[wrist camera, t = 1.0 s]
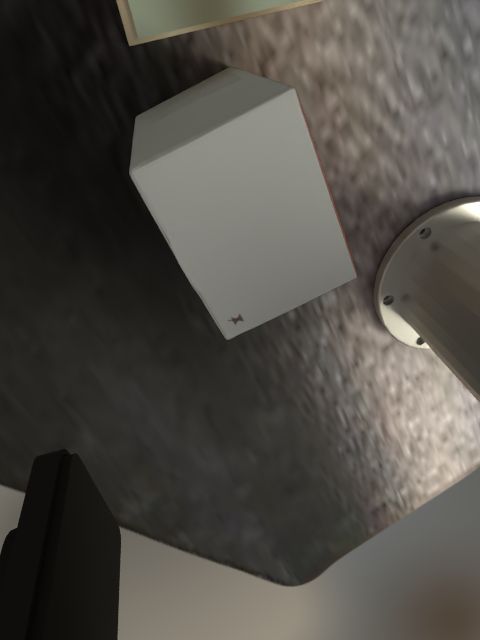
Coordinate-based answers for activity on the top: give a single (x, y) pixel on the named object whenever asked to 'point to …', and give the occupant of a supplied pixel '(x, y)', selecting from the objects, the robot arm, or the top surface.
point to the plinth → (190, 15)
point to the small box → (241, 197)
